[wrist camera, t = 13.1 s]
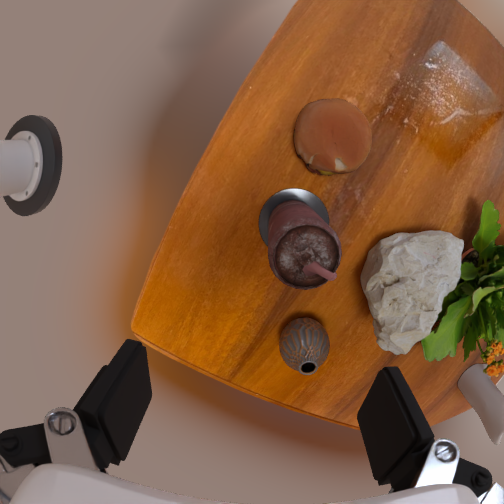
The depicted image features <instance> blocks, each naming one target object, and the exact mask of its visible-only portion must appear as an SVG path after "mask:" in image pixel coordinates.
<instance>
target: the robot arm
mask: <svg viewBox="0 0 504 504" xmlns="http://www.w3.org/2000/svg"><path fill="white" fill-rule="evenodd" d="M42 169H43V153H42V147H41V144H40V141H39V139H38V138H37V136H36V135H35V134H34V133H33V132H30V131H21V132H19V133H17V134H16V135H15V136H13V138H12V139H11V140H0V197H2V196H7V195H9V196H10V197H11V198H12V199H14V200H16V201H23V200H27V199H28V198H30V197H31V196H32V195H33V194H34V192H35V191H36V189H37V187H38V185H39V182H40V179H41V175H42ZM151 398H152V389H151V382H150V376H149V368H148V360H147V352H146V347H144V346H142V343H141V342H139V341H135V340H131V339H127V340H126V341H125V342H124V343H123V345H122V346H121V348H120V349H119V350H118V352H117V354H116V355H115V356H114V358H113V359H112V361H111V362H110V363H109V365H105V366H103V367H102V368H101V370H100V371H99V372H98V374H97V375H96V377H95V378H94V380H93V381H92V382H91V384H90V385H89V387H88V388H87V390H86V391H85V393H84V394H83V396H82V397H81V398H80V400H79V401H78V403H77V405H76V406H75V407H74V409H73V410H71V409H69V408H65V407H62V408H61V407H60V408H55V409H53V410H51V411H50V412H48V414H47V415H46V416H45V419H44V423H42V424H38V425H33V426H27V427H21V428H15V429H9V430H5V431H3V432H2V433H1V434H0V504H242V503H231V502H222V501H215V500H208V499H202V498H195V497H190V496H185V495H180V494H176V493H171V492H167V491H163V490H159V489H155V488H151V487H148V486H144V485H140V484H137V483H134V482H130V481H127V480H124V479H121V478H118V477H114V476H111V475H109V474H108V472H107V470H106V468H108V466H109V464H110V463H112V464H115V465H119V463H120V461H121V460H122V461H124V460H125V459H126V457H127V455H128V452H129V450H130V447H131V445H132V443H133V440H134V438H135V436H136V433H137V431H138V429H139V426H140V423H141V421H142V419H143V417H144V415H145V412H146V410H147V408H148V405H149V403H150V401H151ZM357 420H358V423H359V427H360V430H361V433H362V437H363V440H364V444H365V447H366V451H367V455H368V458H369V462H370V466H371V469H372V473H373V477H374V479H375V480H377V481H378V484H379V486H380V485H385V484H391V486H392V488H391V490H390V491H389V493H388V494H385V495H380V496H375V497H369V498H364V499H358V500H351V501H343V502H334V503H325V504H504V489H503V488H502V487H501V486H500V485H498V484H497V483H496V482H495V483H494V484H492V475H491V473H490V472H489V471H488V470H487V469H486V468H483V467H481V466H479V465H476V464H474V463H471V462H469V461H466V460H464V459H462V458H460V451H459V448H458V446H457V445H456V444H455V443H454V442H453V441H451V440H450V439H446V438H441V439H438V440H436V441H435V440H434V434H433V432H432V430H431V428H430V426H429V424H428V422H427V420H426V418H425V416H424V414H423V412H422V410H421V408H420V406H419V405H418V403H417V401H416V399H415V397H414V395H413V393H412V391H411V390H410V388H409V386H408V384H407V382H406V380H405V379H404V377H403V375H402V373H401V371H400V370H399V368H398V367H396V366H395V367H384V368H383V369H382V370H380V371H379V372H378V374H377V376H376V378H375V380H374V382H373V384H372V386H371V388H370V390H369V392H368V394H367V396H366V398H365V400H364V402H363V404H362V406H361V408H360V409H359V411H358V414H357Z"/></svg>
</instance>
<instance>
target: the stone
mask: <svg viewBox="0 0 504 504" xmlns="http://www.w3.org/2000/svg"><path fill="white" fill-rule="evenodd" d="M463 248H464V242H463V240H461V239H458V238H457V237H455V236H453V235H452V234H451V233H448V232H444V231H440V230H439V231H432V230H430V231H423V232H419V233H410V234H408V233H402V232H401V233H396V234H394V235H392V236H390V237H387V238H384V239H382V240H380V241H379V242H378V243H377V244H376V245H375V246H374V247H373V248H372V249H371V250H370V251H369V252H368V256H367V260H366V262H365V264H364V267H363V270H362V273H361V279H360V281H361V285H362V289H363V292H364V294H365V295H366V298H367V300H368V305H369V309H370V312H371V314H372V316H373V318H374V320H373V326H374V329H375V330H374V333H375V336H376V337H377V340H376V341H377V343H378V345H379V346H380V347H381V348H382V349H383V350H386V351H388V350H389V351H391V352H393V353H394V354H396V355H399V354H407V353H408V352H409V351H410V349H411V347H412V346H413V345H414V344H415V343H416V342H418V341H420V340H422V339H424V338H425V337H427V336H428V335H429V334H430V332H431V328H432V326H433V325H434V323H435V322H436V320H437V318H438V314H439V313H440V312H441V311H442V302H443V299H444V297H445V296H447V295H448V293H449V292H451V291H453V290H455V288H456V286H457V282H458V281H459V279H460V275H461V270H460V268H461V258H462V257H461V255H462V251H463Z"/></svg>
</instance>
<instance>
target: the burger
mask: <svg viewBox="0 0 504 504" xmlns="http://www.w3.org/2000/svg"><path fill="white" fill-rule="evenodd" d="M371 140H372V134H371V127H370V124H369V122H368V120H367V118H366V117H365V115H364V114H363V113H362V112H361V111H360V110H359V109H358V108H357V107H356V106H355V105H353V104H351V103H350V102H348V101H346V100H342V99H321V100H317V101H314V102H311V103H309V104H307V105H306V106H305V107H304V108H303V109H302V110H301V112H300V114H299V116H298V118H297V121H296V126H295V129H294V142H295V148H296V152H297V155H298V157H299V158H302V159H303V160H304V161H305V162H306V165H307V168H308V169H309V170H310V171H311V172H313V173H317V174H319V175H328V176H330V175H333V174H341V173H349V172H352V171H355V170H356V169H358V168H359V167H360V166H361V164H362V163H363V162H364V161H365V160H366V158H367V156H368V154H369V151H370V149H371Z"/></svg>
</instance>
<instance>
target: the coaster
mask: <svg viewBox="0 0 504 504" xmlns="http://www.w3.org/2000/svg"><path fill="white" fill-rule="evenodd" d="M289 200H297V201H301V202H304V203H306V204H307V205H309V206H310V207H311V208H312V209H313V210H314V211H315V212H316V213H317V214H318V215H319V216H320V217H321V218H322V219H323V220H324V221H325V222H326V223H327V224H328V225H329V216H328V212H327V210H326V207H325V206H324V204H323V203H322V201H321V200H320V199H319V198H318V197H317V196H316V195H314V194H313V193H311V192H309V191H307V190H304V189H299V188H289V189H285V190H281V191H279V192H277V193H275V194H274V195H272V196H271V197H270V198H269V199H268V200H267V201H266V203H265V204H264V206H263V208H262V210H261V213H260V216H259V230H260V234H261V237H262V239H263V241H264V242H265V244H266V245H267V246H268V224H269V217H270V215H271V213H272V211H273V210H274V209H275V208H276V207H277V205H279V204H281V203H283V202H284V201H289Z"/></svg>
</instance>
